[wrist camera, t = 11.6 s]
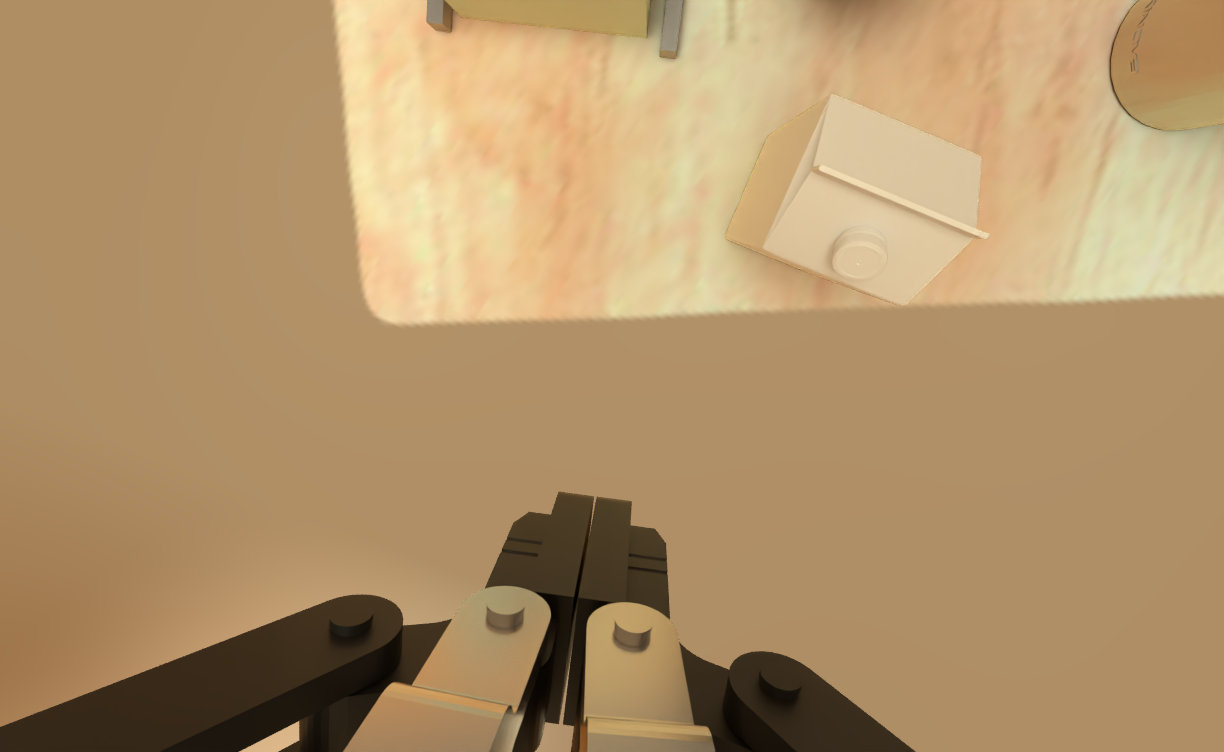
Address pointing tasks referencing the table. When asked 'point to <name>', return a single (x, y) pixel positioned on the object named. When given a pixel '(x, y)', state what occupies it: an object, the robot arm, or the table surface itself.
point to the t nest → (442, 20)
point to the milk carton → (860, 200)
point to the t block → (563, 14)
